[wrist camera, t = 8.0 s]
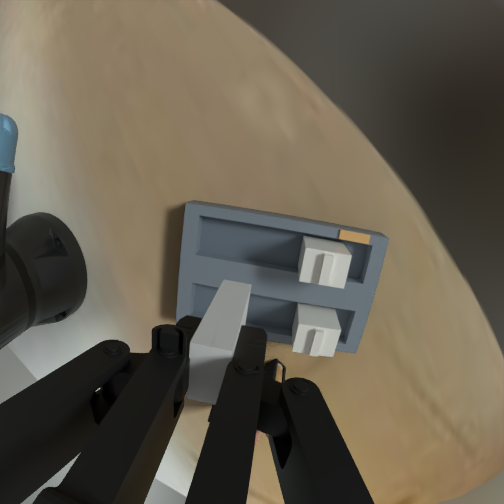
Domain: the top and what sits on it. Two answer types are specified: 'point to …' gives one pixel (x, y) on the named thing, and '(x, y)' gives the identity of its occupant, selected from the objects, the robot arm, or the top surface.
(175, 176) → the top surface
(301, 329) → the tab
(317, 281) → the tab
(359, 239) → the switch bank
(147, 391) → the robot arm
